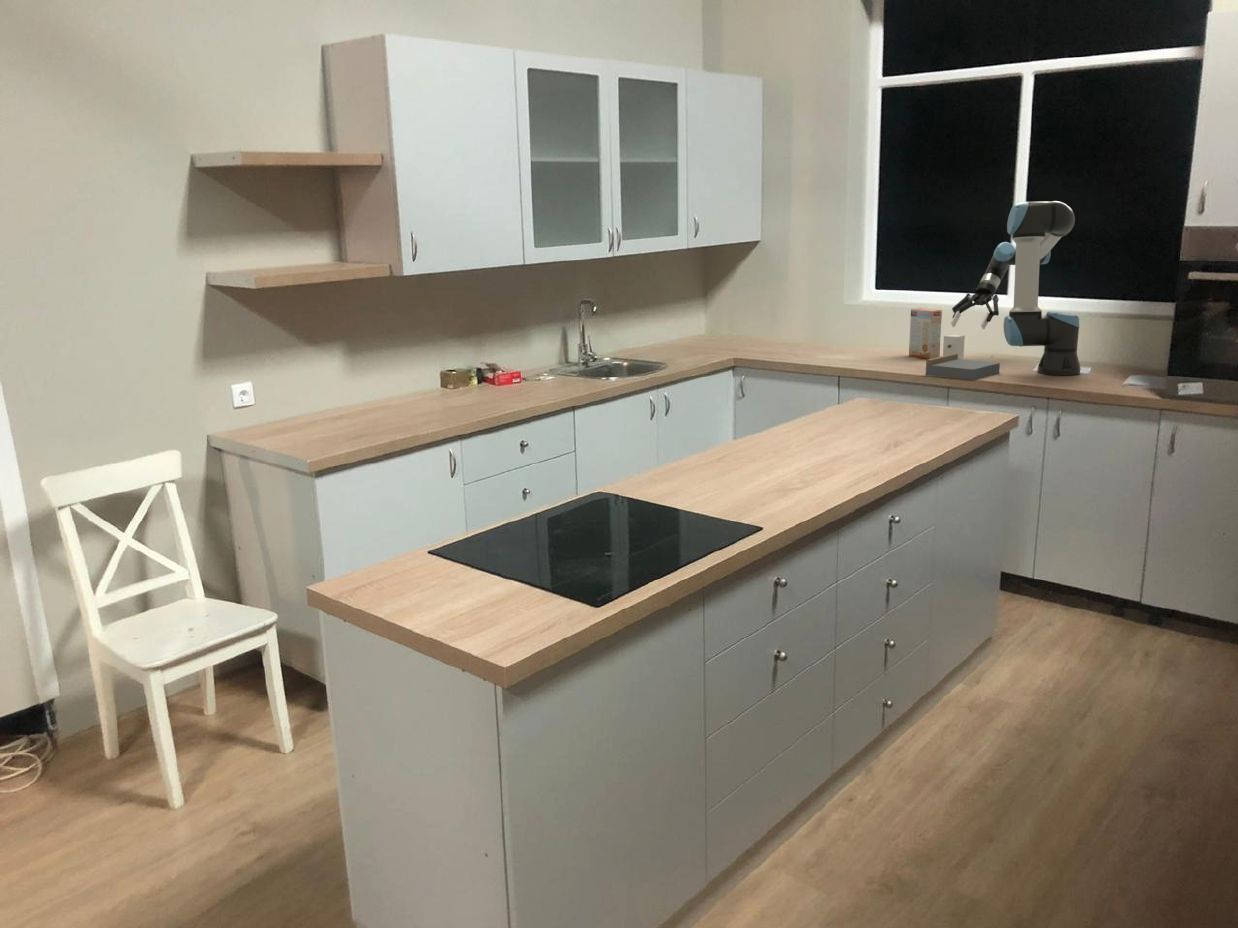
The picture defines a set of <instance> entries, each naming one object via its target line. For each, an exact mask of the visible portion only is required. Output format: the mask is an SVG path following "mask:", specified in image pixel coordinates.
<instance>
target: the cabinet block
mask: <svg viewBox="0 0 1238 928" xmlns="http://www.w3.org/2000/svg"><path fill="white" fill-rule="evenodd" d="M965 339H966V338H965V334H964V335H962V334H946V335H943V343H942V344H943V345H942V347H943V348H942V356H945V355H949V354H958V359H963V360H965V359H964V357H965V355H964V354H965Z"/></svg>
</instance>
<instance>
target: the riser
mask: <svg viewBox="0 0 1238 928" xmlns="http://www.w3.org/2000/svg"><path fill="white" fill-rule="evenodd" d="M925 360H926V362H925V363H926V364H925V367H926V368H925V375H926V376H933V377H941V378H942V377H943V378H950V379H959V380H961V379H962V380H967V381H968V380H970V381H974V380H978V379H979V380H980V379H982V378H987V377H990V376H993V375H997V374H999V373H1000V366H1001V363H1000V362H995V361H982V360H974V359H973V360H972V359H958V354H949V355H945V356H943V355H942V356H940V357H936V358H932V359H925Z"/></svg>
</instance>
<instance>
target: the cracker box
mask: <svg viewBox="0 0 1238 928" xmlns="http://www.w3.org/2000/svg"><path fill="white" fill-rule="evenodd" d="M942 315H943V311H942V310H940V309H934V308H923V307H922V308H921V307H918V308H917V307H916V308H911V309H910V320H909V321H910V324H909V346H908V347H909V348H908V357H909V356H910V357H914V358H920V359H925V360H927V359H932V358H936V357H941V356H940V355H941V354H940V351H941V335H942V333H941V332H942V320H943V319H942Z"/></svg>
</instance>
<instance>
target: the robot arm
mask: <svg viewBox="0 0 1238 928" xmlns="http://www.w3.org/2000/svg"><path fill="white" fill-rule="evenodd" d="M1007 218H1008V219H1007V224H1006V228H1007V229H1006V230H1007V234H1009V235H1011V240H1012V241H1013V242H1014V243H1015V245H1014V244H1013V243H1010V242H1008V241H1004V242H1001V243H999V244H998V245H997V246H996V248H995V249H994V251H993V255H992V257H991V260H990V261H989V264H988V266H987V268H986V270H985V272H984V274H983V276H982V277H981V279H980V282H979V283H978V285H977V287H976V288H975V289H976V290H975V293H973V294H970V293H969V292H968V293H967V294H966V295H965V296H964V298H962V299H961V300H960V301H958V302H957V303H956V304H955V305H954V306H953V307H951V310H952V312H953V315H952V319H951V322H950V324H951V326H952V328H955V327H956V325H957V323H958V321H959V320H960V318H961V314H962V313H964V312H965V311H967V310H969V309H970V308H972V307H975V306H980V307H981V306H982V307H983V306H984V305H985V307H986V308H987V311H988V312H986V314H985V315H984V318H983V319H982V322H981V323H980V326H981V328H982V330H985V329H986V327H987V325H988V323H991V321H992V319H993V317H994V316H999V315H1000V314H999V300H1000V299H999V296H998V295H997V294H996V292H997V290H998V287H999V286H1000V283H1001V282H1002V280H1003V278H1004V276H1005V274H1006V272H1007V271H1008V269H1009V266H1014V267H1015V268H1014V286H1013V287H1014V289H1013V293H1014V294H1013V307H1012V308H1011V309H1010V310H1009V312H1008V313H1009V314H1008V315H1007V316H1005V317H1004V319H1003V326H1002V327H1003V334H1004V339H1005V341H1006V343H1007V344H1008V345H1009V346H1011V347H1020V348H1021V347H1044V348H1043V354H1042V356H1041V358H1040V361H1039V362H1038V365H1037V373H1039V374H1042V375H1049V376H1050V375H1051V376H1075V375H1079V374H1081V364H1080V361H1079V357H1078V343H1079V331H1080V317H1079V315H1077V314H1074V313H1070V312H1061V311H1049V310H1048V311H1047V312H1046V313H1045V314H1046V315H1044V314H1042V312H1043V311H1042V309H1041V308H1040V307H1039V286H1040V285H1039V283H1040V280H1039V279H1040V265H1047V264H1048V263H1049V262H1050V259H1051V254H1052V253H1051V250H1052V249H1053V248H1054V247H1055V245H1056V244H1058V241H1060V240H1061V238H1062V237H1064V236H1067V235H1068V234H1069V233H1070V232H1071V231H1072V229H1073V228H1074V226H1075V223H1076V222H1075V221H1076V217H1075V213H1074V211H1073V209H1072V208H1071V207H1070V206H1068V205H1067V204H1066V203H1064V202H1062V201H1058V200H1053V201H1024V202H1017V203H1015V204H1013V206H1012V207H1011V209H1010V212H1009V214H1008V217H1007ZM991 301H993V305H992V306H993V310H992V307H991V306H990V302H991Z"/></svg>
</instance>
